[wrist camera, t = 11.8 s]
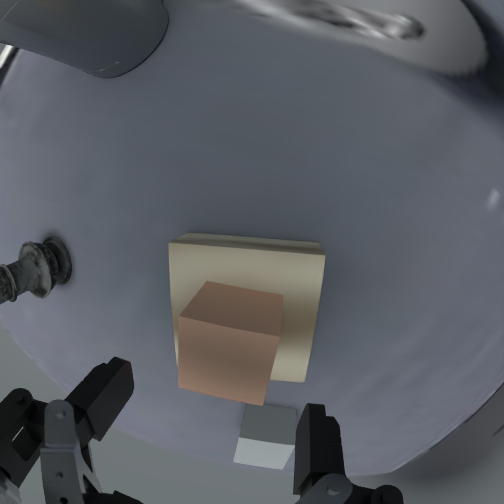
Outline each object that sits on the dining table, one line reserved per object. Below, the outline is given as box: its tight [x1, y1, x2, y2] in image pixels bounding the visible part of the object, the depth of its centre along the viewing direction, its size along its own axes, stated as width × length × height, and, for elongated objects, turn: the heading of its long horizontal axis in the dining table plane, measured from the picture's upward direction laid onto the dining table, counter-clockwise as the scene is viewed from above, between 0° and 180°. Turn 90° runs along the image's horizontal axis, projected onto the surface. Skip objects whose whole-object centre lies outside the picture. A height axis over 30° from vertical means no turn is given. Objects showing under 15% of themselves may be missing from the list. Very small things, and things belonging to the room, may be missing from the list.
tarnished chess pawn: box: [0, 237, 72, 304], centre depth 18 cm, size 6×6×12 cm
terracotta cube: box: [178, 281, 283, 406], centre depth 16 cm, size 5×5×5 cm
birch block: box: [169, 233, 326, 382], centre depth 20 cm, size 10×10×4 cm
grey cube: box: [233, 403, 296, 469], centre depth 23 cm, size 5×5×5 cm
